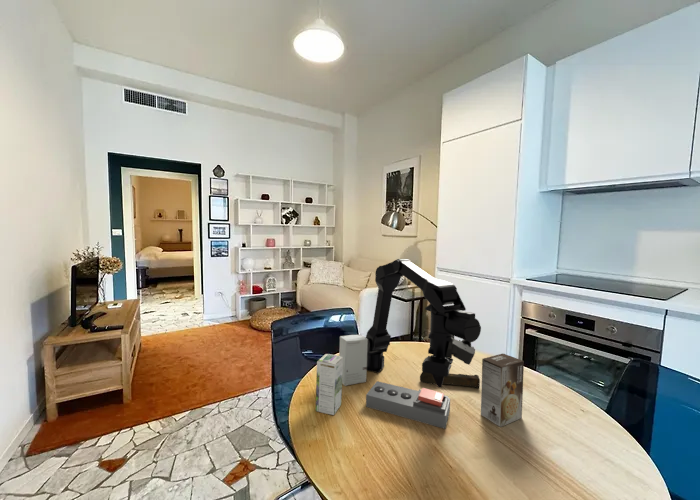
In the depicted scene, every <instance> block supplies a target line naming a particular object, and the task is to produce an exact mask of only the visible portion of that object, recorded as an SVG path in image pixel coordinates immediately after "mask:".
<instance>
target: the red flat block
mask: <svg viewBox="0 0 700 500" xmlns="http://www.w3.org/2000/svg"><path fill="white" fill-rule="evenodd" d="M420 390H421V392H420V394H419V397H418V400H420V401H423V402H426V403H430V404H433V405H436V406H440V407H441V405H442V402H443V398H444V395H445V393H444V392H440V391H436V390H433V389H429V388H425V387H422V388H421V389H420Z"/></svg>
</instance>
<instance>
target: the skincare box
mask: <svg viewBox="0 0 700 500" xmlns="http://www.w3.org/2000/svg"><path fill="white" fill-rule="evenodd" d="M367 344H368V339H367V338H366V336H364V335H362V334H349V335H340V336H339V351H338V352H339V353H338V356H340V357H343V372H342V386H345V387H347V386H350V385H355V384H360V383H366V382H367V373H368V372H367V371H368V370H367Z"/></svg>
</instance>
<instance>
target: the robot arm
mask: <svg viewBox="0 0 700 500" xmlns="http://www.w3.org/2000/svg"><path fill="white" fill-rule="evenodd" d="M402 277H405V278H406V279H407V280H408V281H409V282H411V283H413V284H414V285H415V286H416V287H418V288H419V289H420V290H421V291H422V295H423V298H425V300H426V301H427V302H428V303H429V304H428V305H427V306H426V307H424V308H425V310H426V311H428V312H430V324H429V325H430V327H429V329H430V330H429V334H428V339H429V348H428V351H427V353H428V354H430V355H428V356H426V357H425V358H424V360H423V361H422V363H421V371H423V372H426V373H430V374H432V375H433V378H434V380H435V382H436V386H437V387H438V388H442V387H443V380H444V376H445V377H446V376H448V374H449V373H450V371H451V367H452V364H453V363H454V362H453V361H454V359H453V357H454V358H456V359H458V360H459V361H461V362H463V363H464V364H466V365H470V364H471V362H472V360H473V358H474V356H475V354H476V349H475V347H474V346H472V343H473V342H475V341H476V340H478V339H479V337H480V335H481V332H482V326H481V323H480V321H479V320H478V319H477V318H476V313H475V312H471V311H466V310H467V308H466V306H465V304H464V302H463V300H462V298H461V296H460V295H459V292H458V290H457V287H456V285H454V283H451V282H449V281H446V280H444V279H439V278H436V277H434V276H432V275H430V274H429V273H427V272H426V271H425V270H423V269H422V268H420V267H419V266H418V265H416V264H414V263H413V262H412V260H411V259H408V258H396V259H395V260H393V261H392V262H389V263H386V264H383V265H379V266H378V267H376V269H375V280H374V281H375V283H376V286H377V288H378V289H377V296H376V302H375V308H374V316H373V322H372V326H370V328H369V329H368V330H367V332H366V335H365V338H367V339H368V344H367V371H369V372H373V373H377V374H379V373H380V372H381V371H382V370H383V368H385V356H384V353H386V352H387V351H388V348H389V346H391V338H392V336H391V334H390V333H389V331H388V329H387V326H388V321H389V315H390V310H391V304H392V298H393V292H394V291H395V289H396V288H397V287H399V284H400V281H401V278H402ZM455 337H456V338H459V340H458V339H456V338H455ZM460 339H462V340H460Z"/></svg>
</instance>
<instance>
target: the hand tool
mask: <svg viewBox="0 0 700 500" xmlns="http://www.w3.org/2000/svg"><path fill="white" fill-rule="evenodd" d="M421 371H422V370H421ZM419 381H420V382H421V383H425V384H430V385H434V386H435V385H436V382H435V380H434V378H433V375H432V374H430V373H426V372H423V371H422V372H421V373H420V376H419ZM480 383H481V380H480V377H479V375H478V374H472V375H471V374H465V373H450V372H449V374H448V376H446V377H445V376H444V380H443V384H444V385H456V386H464V387H471V388H472V387H473V388H474V387H475V388H476V389H477V390H479V389H480V387H481V386H480ZM443 384H442V385H443ZM436 386H437V385H436Z"/></svg>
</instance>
